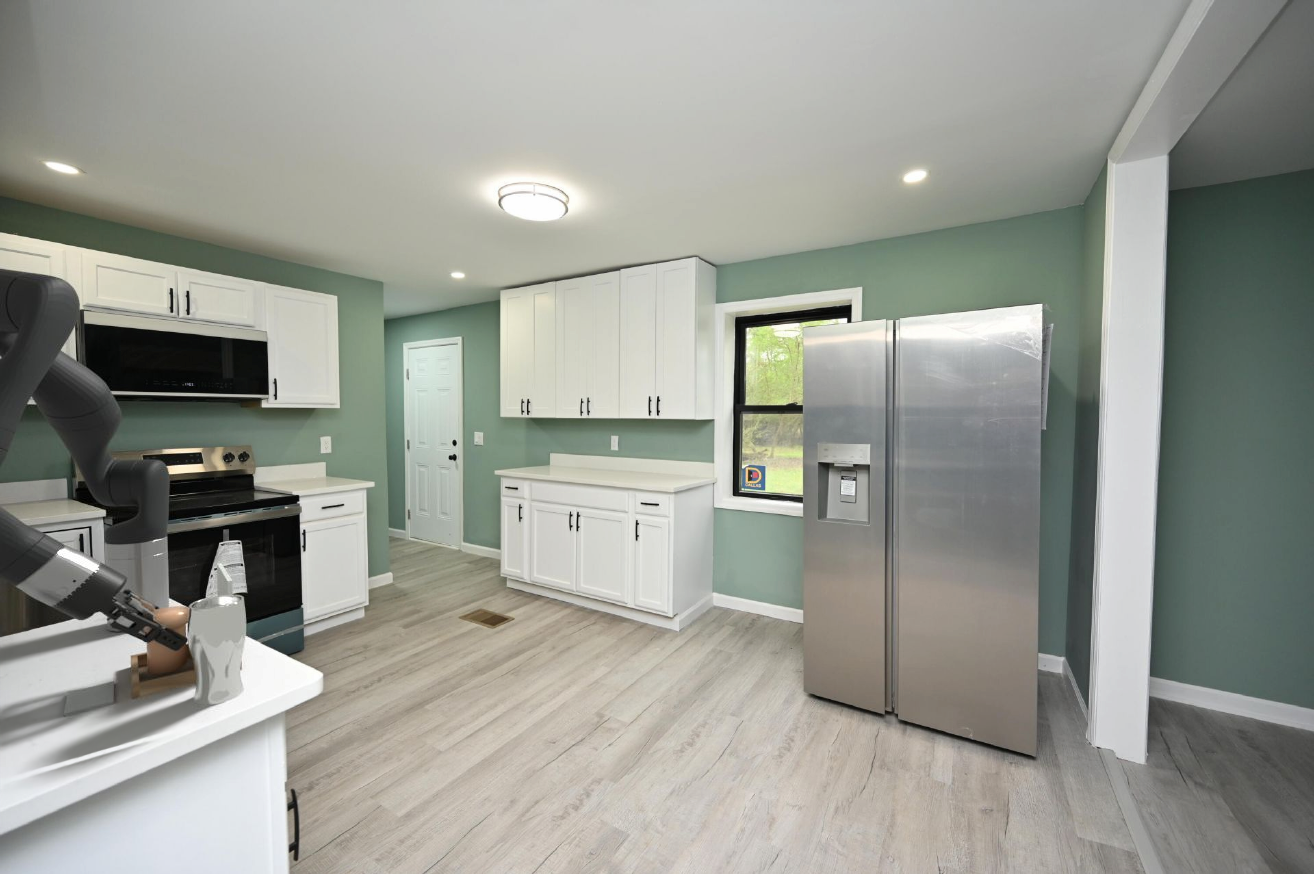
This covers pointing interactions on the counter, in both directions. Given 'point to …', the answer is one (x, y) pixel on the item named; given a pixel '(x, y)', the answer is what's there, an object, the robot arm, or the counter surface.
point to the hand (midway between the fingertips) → (181, 638)
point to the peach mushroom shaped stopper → (160, 655)
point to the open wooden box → (159, 676)
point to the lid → (223, 581)
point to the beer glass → (217, 647)
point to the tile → (89, 698)
